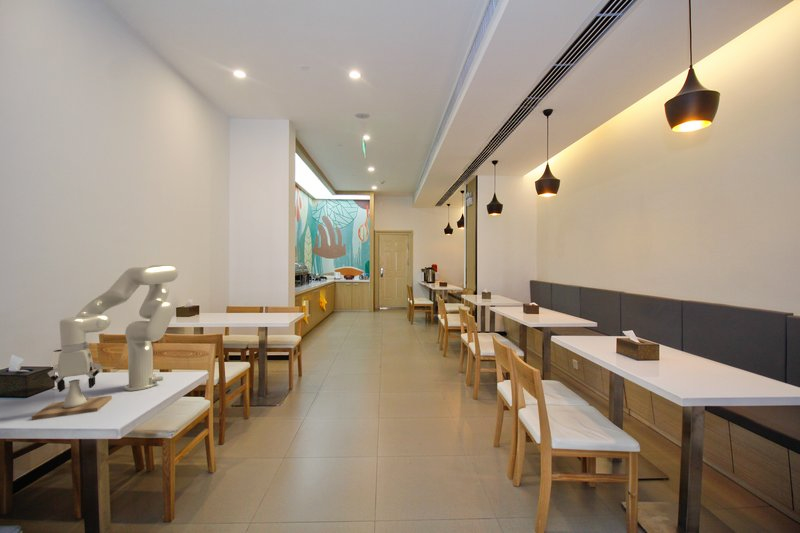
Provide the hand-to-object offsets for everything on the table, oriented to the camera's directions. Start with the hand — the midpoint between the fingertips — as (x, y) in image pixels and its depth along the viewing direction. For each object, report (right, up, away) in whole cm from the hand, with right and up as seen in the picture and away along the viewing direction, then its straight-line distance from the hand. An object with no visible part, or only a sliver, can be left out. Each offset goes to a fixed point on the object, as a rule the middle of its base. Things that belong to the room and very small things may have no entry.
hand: (77, 388), depth 143 cm
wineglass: (-31, -9, +26) cm, 41 cm away
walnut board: (0, -8, -1) cm, 8 cm away
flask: (0, -7, -1) cm, 7 cm away
